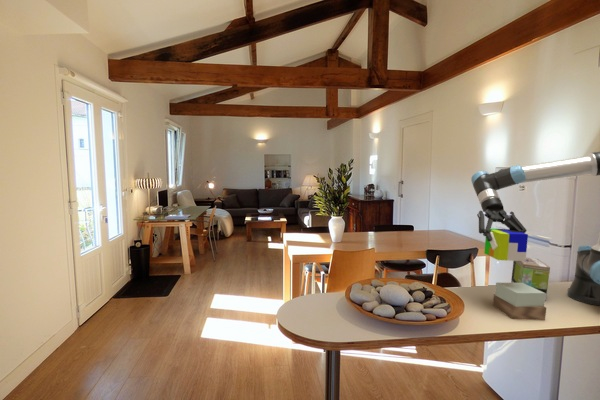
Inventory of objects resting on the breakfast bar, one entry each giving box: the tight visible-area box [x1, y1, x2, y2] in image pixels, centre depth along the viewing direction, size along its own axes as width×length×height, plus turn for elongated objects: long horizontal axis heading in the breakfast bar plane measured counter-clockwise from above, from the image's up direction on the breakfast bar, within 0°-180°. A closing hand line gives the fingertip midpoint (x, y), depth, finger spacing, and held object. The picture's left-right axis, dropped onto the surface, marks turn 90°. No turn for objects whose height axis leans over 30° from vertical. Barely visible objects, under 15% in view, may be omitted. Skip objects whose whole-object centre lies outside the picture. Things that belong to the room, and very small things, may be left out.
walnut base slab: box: [492, 293, 547, 321], centre depth 128 cm, size 12×12×5 cm
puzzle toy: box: [483, 228, 529, 261], centre depth 131 cm, size 10×10×10 cm
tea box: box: [510, 257, 551, 302], centre depth 149 cm, size 15×10×15 cm, turn 161°
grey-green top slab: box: [494, 282, 545, 307], centre depth 128 cm, size 11×11×5 cm
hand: (509, 248), depth 128 cm, fingers closed on puzzle toy, 10 cm apart
